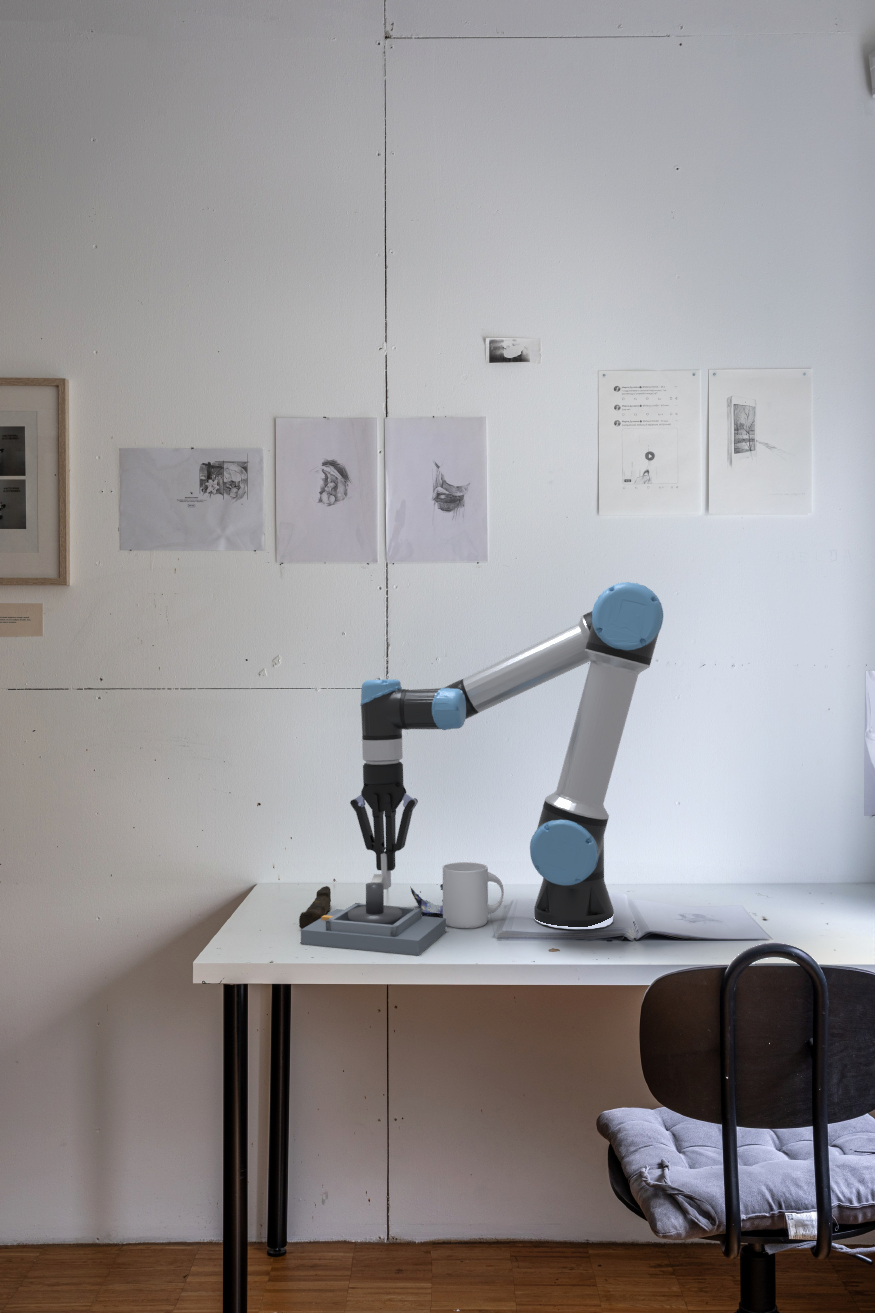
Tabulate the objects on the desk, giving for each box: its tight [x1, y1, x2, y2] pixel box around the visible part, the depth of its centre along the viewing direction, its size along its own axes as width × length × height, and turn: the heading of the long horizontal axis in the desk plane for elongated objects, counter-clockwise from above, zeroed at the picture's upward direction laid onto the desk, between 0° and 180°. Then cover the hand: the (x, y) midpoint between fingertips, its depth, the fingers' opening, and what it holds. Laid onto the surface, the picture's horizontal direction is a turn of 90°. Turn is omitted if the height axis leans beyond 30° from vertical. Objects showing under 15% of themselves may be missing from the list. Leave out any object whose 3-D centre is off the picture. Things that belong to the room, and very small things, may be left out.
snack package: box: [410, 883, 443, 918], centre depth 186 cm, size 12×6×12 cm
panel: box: [300, 902, 447, 956], centre depth 168 cm, size 22×15×4 cm
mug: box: [442, 861, 505, 929], centre depth 179 cm, size 9×12×11 cm
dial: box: [348, 873, 401, 925], centre depth 170 cm, size 13×10×7 cm
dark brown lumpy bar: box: [298, 885, 332, 930], centre depth 182 cm, size 19×4×5 cm, turn 174°
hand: (386, 887), depth 175 cm, fingers closed
